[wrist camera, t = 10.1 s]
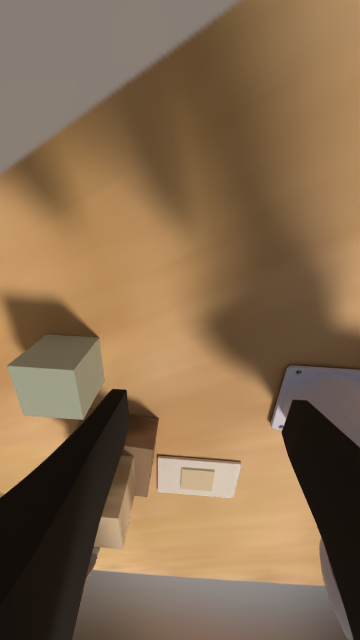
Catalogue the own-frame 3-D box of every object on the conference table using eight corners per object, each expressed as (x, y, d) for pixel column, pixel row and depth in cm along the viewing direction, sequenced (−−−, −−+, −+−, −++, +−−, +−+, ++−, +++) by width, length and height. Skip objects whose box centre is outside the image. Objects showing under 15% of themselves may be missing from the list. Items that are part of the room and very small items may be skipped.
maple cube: (133, 456, 22) (118, 518, 17) (136, 486, 24) (122, 549, 20) (83, 452, 22) (55, 513, 18) (90, 482, 24) (66, 544, 20)
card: (240, 461, 27) (241, 466, 27) (232, 495, 30) (233, 499, 29) (158, 455, 27) (157, 459, 27) (158, 489, 30) (157, 493, 30)
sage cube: (99, 337, 21) (73, 370, 16) (104, 379, 23) (83, 419, 18) (47, 333, 21) (6, 365, 17) (57, 376, 23) (23, 415, 19)
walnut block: (159, 416, 25) (153, 450, 21) (153, 461, 28) (147, 497, 25) (88, 405, 25) (70, 438, 21) (90, 452, 28) (75, 487, 25)
